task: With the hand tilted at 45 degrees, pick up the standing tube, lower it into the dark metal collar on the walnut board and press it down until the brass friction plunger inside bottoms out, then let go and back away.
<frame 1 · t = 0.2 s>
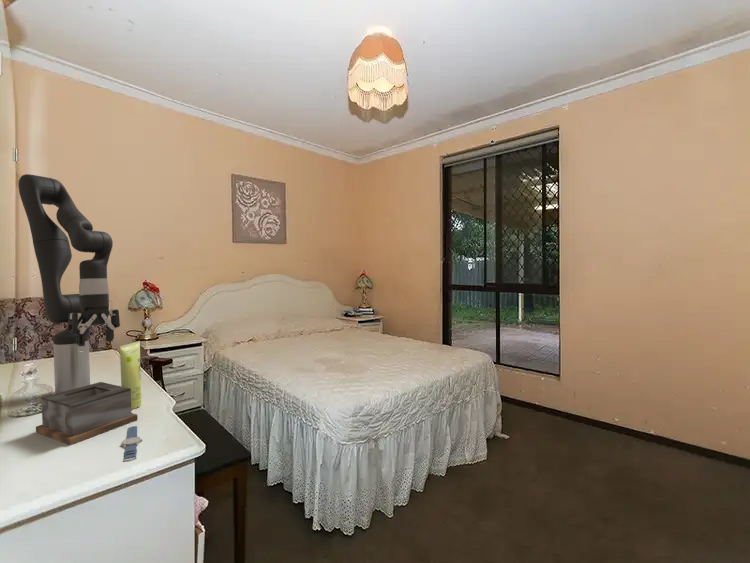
hand: (95, 343, 119), 18 cm above the dresser top, tool pointing down, fingers open, 8 cm apart
wristwatch: (132, 444, 90), on the dresser top
socket: (88, 425, 100), on the dresser top
tube: (131, 407, 113), on the dresser top
plunger: (88, 407, 99), point 5 cm above the dresser top, slide at 0.0 cm
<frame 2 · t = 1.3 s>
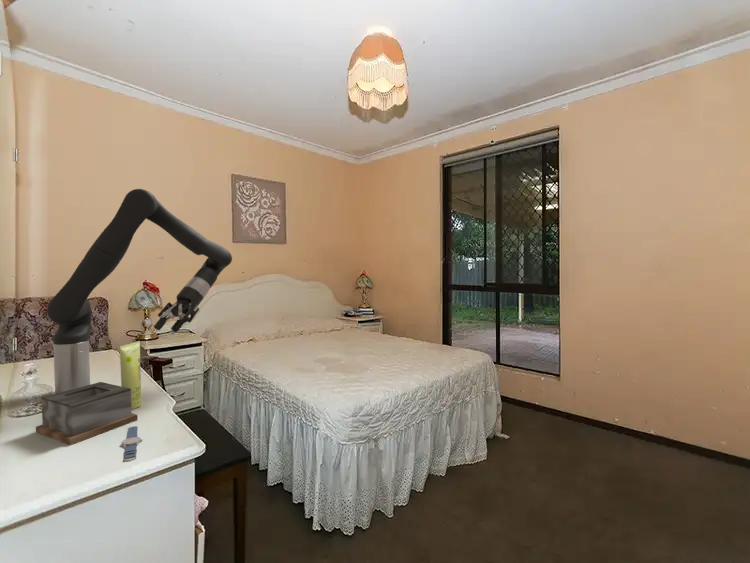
hand: (164, 329, 122), 22 cm above the dresser top, tool tilted 45°, fingers open, 8 cm apart
nothing on the dresser top moved.
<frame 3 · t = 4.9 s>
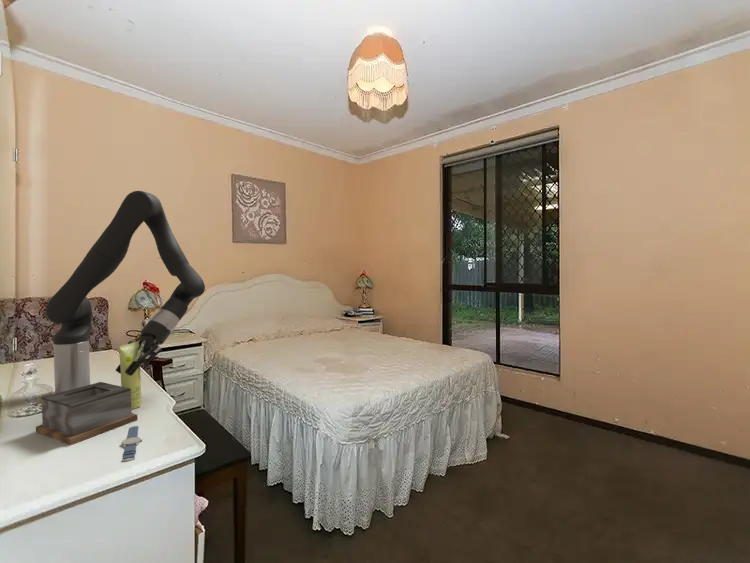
hand: (123, 372, 110), 11 cm above the dresser top, tool tilted 45°, fingers closed on tube, 4 cm apart
tube: (131, 407, 113), on the dresser top, touching gripper
everything else where it was.
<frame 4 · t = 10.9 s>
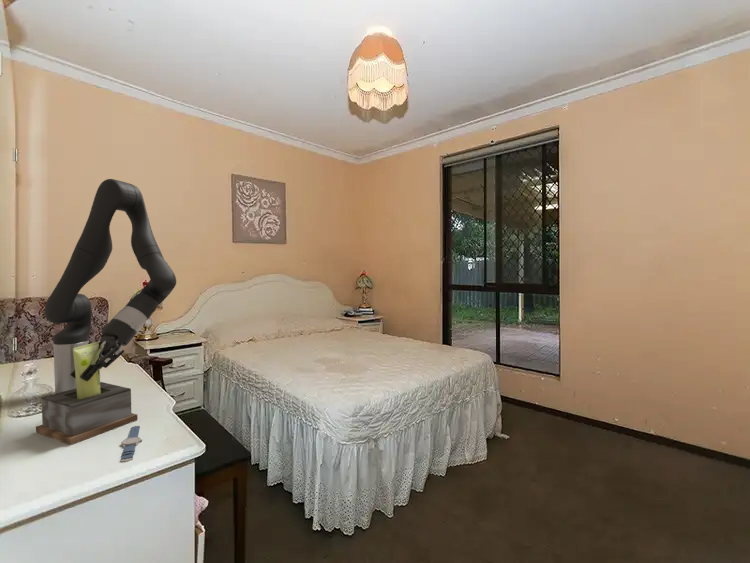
hand: (78, 378, 97), 14 cm above the dresser top, tool tilted 45°, fingers closed on tube, 4 cm apart
tube: (89, 416, 100), point 2 cm above the dresser top, touching gripper, plunger
plunger: (88, 418, 100), point 2 cm above the dresser top, slide at 3.0 cm, touching socket, tube
everything else where it was.
when the fingers open (14 cm above the dresser top, at t = 11.2 s): tube stays where it is, point 2 cm above the dresser top.
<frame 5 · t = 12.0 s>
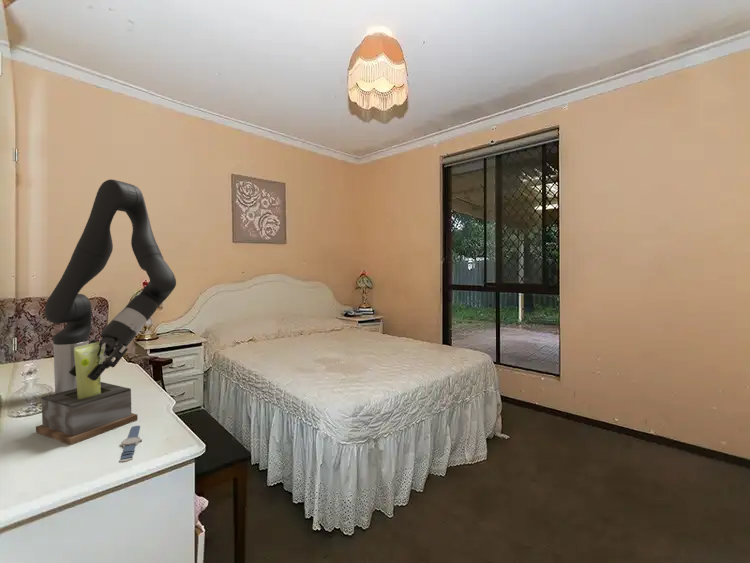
hand: (81, 376, 98), 14 cm above the dresser top, tool tilted 45°, fingers open, 8 cm apart
tube: (89, 416, 100), point 2 cm above the dresser top
plunger: (88, 418, 100), point 2 cm above the dresser top, slide at 3.0 cm, touching socket
everything else where it was.
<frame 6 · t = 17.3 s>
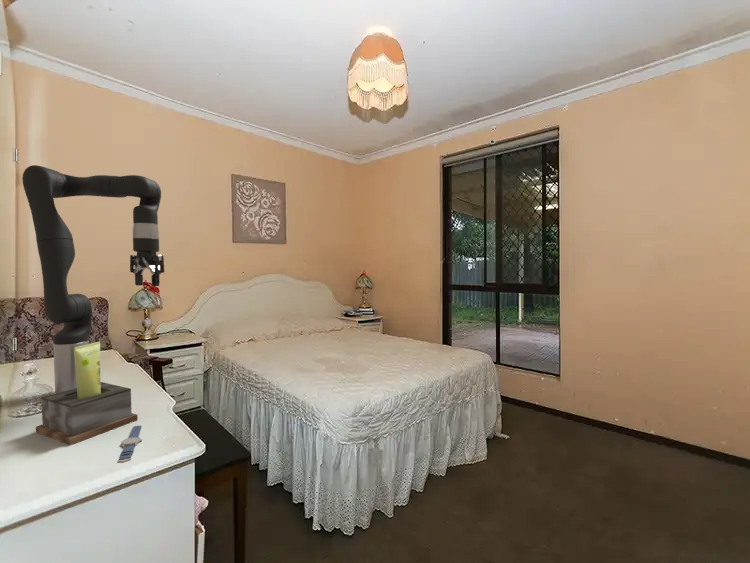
hand: (147, 285, 126), 36 cm above the dresser top, tool pointing down, fingers open, 8 cm apart
tube: (89, 416, 100), point 2 cm above the dresser top, touching plunger
plunger: (88, 418, 100), point 2 cm above the dresser top, slide at 3.0 cm, touching socket, tube
everything else where it was.
at the end: tube 0.4 cm off-centre on the socket, point 2.3 cm above the socket's base; plunger slide at 3.0 cm; tube tilted 0° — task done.
